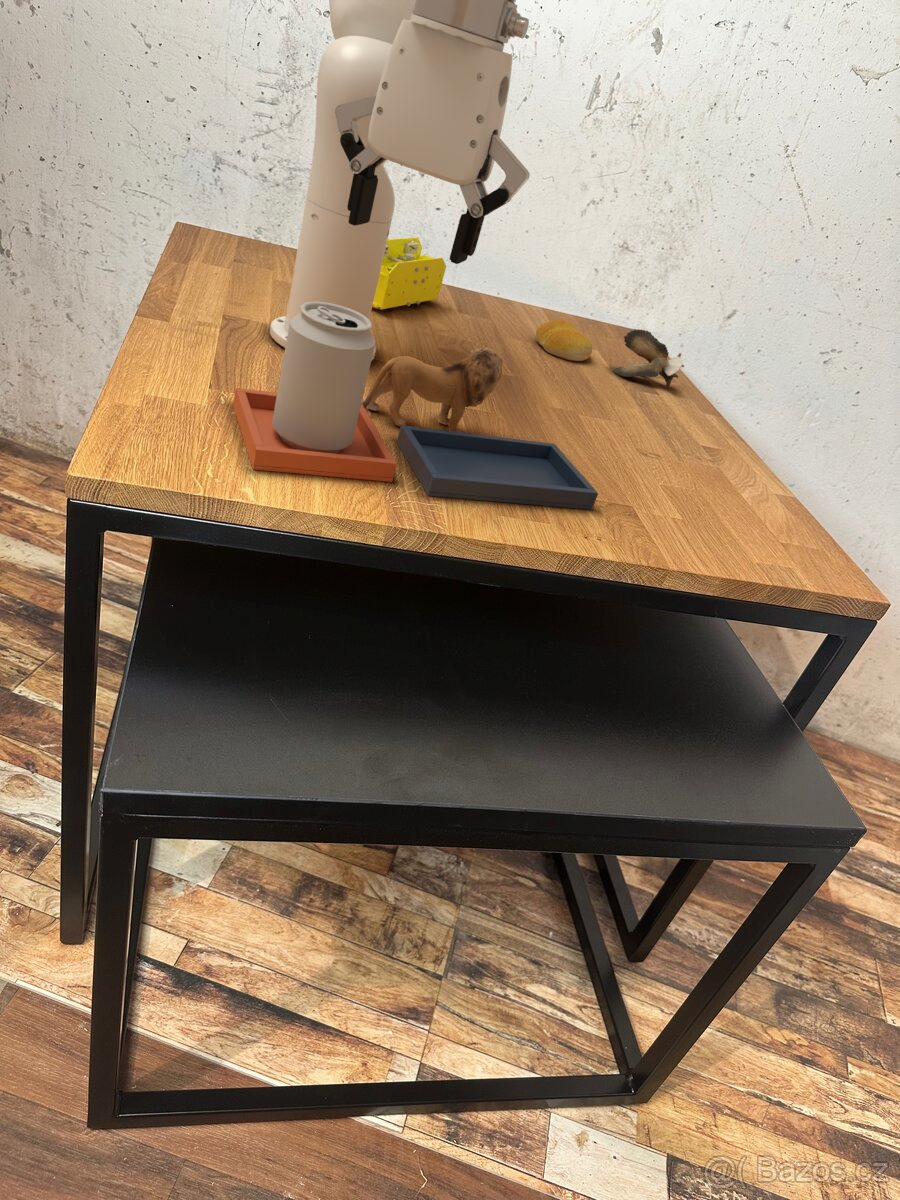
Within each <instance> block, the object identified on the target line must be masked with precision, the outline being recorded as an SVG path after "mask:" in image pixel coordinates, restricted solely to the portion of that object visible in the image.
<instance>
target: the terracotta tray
mask: <svg viewBox="0 0 900 1200" xmlns="http://www.w3.org/2000/svg"><path fill="white" fill-rule="evenodd" d="M276 397H277V392H274V391H265V390H256V389H249V388H242V387H235V389H234V397H233V403H232V407H233V410H234V415H235V417H236V421H237V423H238V426H239V429H240V432H241V436H242V439H243V442H244V445H245V448H246V449H245V450H246V452H247V455H248V459H249V462H250V464H251V467H252V470H255V471H267V472H277V473H289V474H300V475H310V476H321V477H332V478H343V479H355V480H364V481H375V482H387V483H392V482H393V480H394V476H395V471H396V468H397V462H396V459H395V458H394V457H393V455H392V453H391V452H390V450H389V448H388V446H387V444H386V443H385V441H384V440H383V437H382V435H381V434H380V432H379V430H378V429H377V426H375V423H374V421H373V420H372V418H371V416H370V414H369V412H368V411H367V409H366V408H364V406H363V404H361V407H360V411H359V416H358V420H357V424H356V429H355V433H354V437H353V441H352V444H351V445H349V446H348V447H346V448H344V449H342V450H340V451H339V452H337V453H334V454H333V453H323V452H313V451H304V450H298V449H296V448H293V447H291V446H290V445H288V444H287V443H285V442H284V441H283V440H282V439H281V438H280V435H279V434H278V433H277V431H276V430H275V429H274V428H273V424H272V420H273V414H274V409H275V403H276Z"/></svg>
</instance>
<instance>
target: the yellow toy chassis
mask: <svg viewBox="0 0 900 1200" xmlns="http://www.w3.org/2000/svg"><path fill="white" fill-rule="evenodd" d="M422 250H423V247H422V244H421V241H420V238H419V237H402V238H388V239H387V244H386V248H385V253H384V257H383V261H382V266H381V270H380V275H379V279H378V284H377V288H376V292H375V297H374V301H373V306H372V309H373V308H374V309H376V310H382V311H383V310H387V309H390V308H396V307H401V306H407V307H410V306H411V305H412V304H416V305H420V304H421V303H422V302H423V303H424V302H427V301H432V300H433V301H434V300H437V299H439V295H440V292H441V288H442V285H443V280H444V278H445V277H444V276H445V273H446V268H447V265H446V262H445V260H444V258H443V257H435V258H434V257H431V256H429V255H426V254H422V255H421V253H422Z"/></svg>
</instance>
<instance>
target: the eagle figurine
mask: <svg viewBox="0 0 900 1200" xmlns="http://www.w3.org/2000/svg"><path fill="white" fill-rule="evenodd" d="M623 338H624V339H623V341H624V343H625V344H624V346H625V347H626V348H628V349H629V351H631V352H633V353H635V354H636V355H637V356H638V357H641V358H643V359H645V360H646V361H647V362H648V363H647V362H646V363H644V362H643V363H630V364H628V365H626V366H618V367H615V368H612V372H613V373H615V374H617V375H618V376H621V377H627V378H629V377H630V378H632V377H633V378H634V377H639V376H641V377H648V378H656V377H657V376H659V375H660V376H661V377H662V378H663V379H664V381H665V387H667V389H669V388H670V387H671V383H672V380H673V379H674V378H676V379H678V378H679V375H678V374H676V373H678V372H679V371H680V370H681V368H684V367H685V364H684V363H683V362H684V361H683V359H682V353H681V352H680V353H678V355H676V356H675V357H671V358H670V359H668V358H669V350H668V347H667V346H666V344H665V343H663V342H660V341H659V340H658V338H656V337H655V336H654V335H653V334H652V332H651V331H649V330H645V329H640V328H639V329H636V328H634V329H633V330H630V331H629V332H627V333H626V334H625V335H624V336H623Z"/></svg>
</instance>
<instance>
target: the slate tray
mask: <svg viewBox="0 0 900 1200" xmlns="http://www.w3.org/2000/svg"><path fill="white" fill-rule="evenodd" d="M396 444H397V446H398V448H399V449H400V451H401V452H402V454H403V456H404V458H405V459H406V461H407V462H408V465H409V466H410V468H411V469H412V471H413V473H414V474H415V476H416V478H417V479H418V481H419V482H420V484H421V486H422V488H423V489H424V491H425V492H426V495H427V496H428V497H438V498H449V499H450V498H451V499H461V500H463V499H464V500H473V501H486V502H497V503H508V504H519V505H520V504H521V505H532V506H542V507H543V506H544V507H554V508H566V509H579V510H589V511H592V510H593V507H594V505H595V502H596V500H597V499H598V498H597V497H598V495H599V492H598V491H597V490H596V489H595V487H594V486H593V485H592V484H591V483H590V482H589V481H588V480H587V479H586V477H585V476H584V475H583V474H582V473H581V472H580V470H579V469H577V467H576V466H575V465H574V463H572V461H571V460H569V458H568V457H567V456H566V455H565V454H564V452H563V451H561V450H560V448H559V447H558V445H556V443H553V442H544V441H536V440H529V439H528V440H527V439H521V438H519V439H518V438H511V437H503V436H495V435H486V434H479V433H469V432H461V431H460V432H454V431H449V430H446V429H438V428H437V429H436V428H428V427H420V426H412V425H406V426H404V425H401V427H399V430H398V435H397V439H396Z"/></svg>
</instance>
